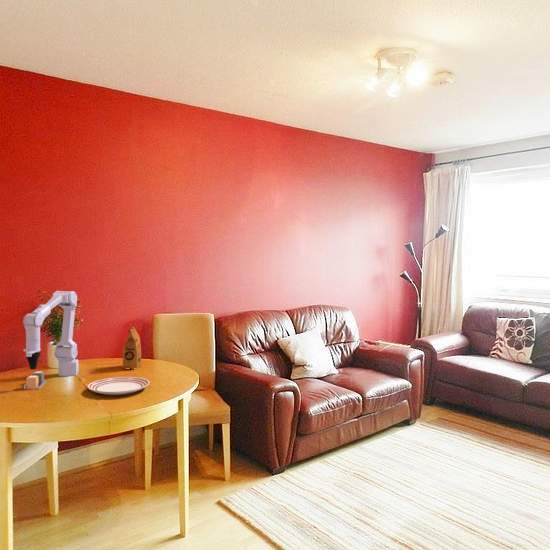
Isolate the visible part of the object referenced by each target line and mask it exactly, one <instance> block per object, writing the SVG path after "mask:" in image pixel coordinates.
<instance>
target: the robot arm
mask: <svg viewBox="0 0 550 550" xmlns="http://www.w3.org/2000/svg"><path fill="white" fill-rule="evenodd" d="M77 303H78V295H77V292H75V291H74V290H73V291H67V290H66V291H65V290H64V291H63V290H56V291H55V292H53V293H52V296H51V298H50V299H49V300H48V301H47V302H46V303H45V304H44V303H43V304H39V305H38V307H36V308H35V310H33V311H32V312H31V313H27V314H26V315H24V316H23V320H22V323H23V325H24V329H25V339H26V340H25V346H26V347H25V348H23V350H22V351H23V352H25V358H26V360H27V362H28V365H29V369H30V370H36V369H37V367H38V363H39V358H40V356H41V354H42V353H41V352H40V351H41V350H42V349H41V326H42V325H43V323H44V321H45V319H46V318H47V317H48V316H50V314H51V313H52V312H51V310H52V309H54V308H55V307H56V306H59V307H60V308H62V309H63V317H62V326H61V338H60V341H58V342H57V343H56V344H55V345H56V346H55V349H54V357H55V358H56V360H57V362H58V363H57V365H58V366H57V367H58V368H57V369H58V371H57V372H58V374H57V375H58V376H59V377H70V376H71V377H72V376H74V377H76V376H77V375H78V374H79V373H80V372H79V359H76V358H77V357H78V344H77V343H76V342H75V341H73V335H74V326H75V316H76V308H77V305H78V304H77Z"/></svg>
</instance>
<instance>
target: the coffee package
mask: <svg viewBox="0 0 550 550" xmlns="http://www.w3.org/2000/svg"><path fill="white" fill-rule="evenodd" d="M127 333H129V335H128V337H127V339H126V341H125V342H124V345H123V348H122V368H131V370H133V369H134V368H140V367H141V366H142V346H141V345H142V344H141V337H140V334H139V333H138V332H137V330H136V328H135V326H132V327H131V328H130V329H129V330H127ZM139 366H140V367H139Z"/></svg>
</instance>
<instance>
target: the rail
mask: <svg viewBox="0 0 550 550" xmlns="http://www.w3.org/2000/svg"><path fill="white" fill-rule="evenodd" d="M46 383H47V379H44V381H43V382H42V383H41V384H38V387H37V388H36V389H35V390H40V389H41V388H43V386H44V385H45V384H46ZM23 390H27V391H28V390H32V389H26V383H24V384H23Z"/></svg>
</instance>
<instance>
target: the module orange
mask: <svg viewBox="0 0 550 550" xmlns="http://www.w3.org/2000/svg"><path fill="white" fill-rule="evenodd" d="M25 381H26V383H25V384H26V389H31V390H37V389H36V388H37V387H38V376H32V375H29V376H27V378H26V379H25Z"/></svg>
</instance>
